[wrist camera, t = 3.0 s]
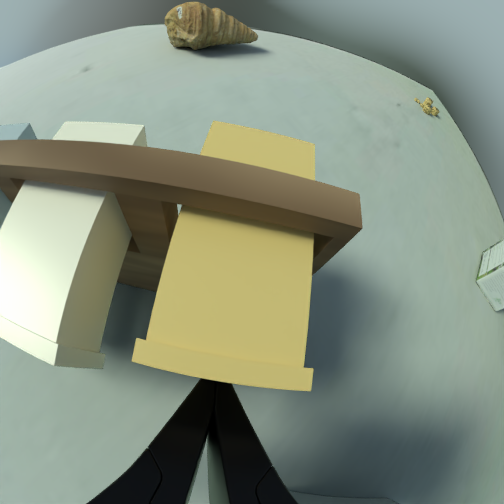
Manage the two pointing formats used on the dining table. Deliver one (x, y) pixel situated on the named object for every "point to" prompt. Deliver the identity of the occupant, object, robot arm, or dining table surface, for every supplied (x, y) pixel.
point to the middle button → (64, 260)
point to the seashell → (204, 27)
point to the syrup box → (493, 275)
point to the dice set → (428, 107)
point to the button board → (181, 195)
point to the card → (336, 499)
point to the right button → (236, 281)
